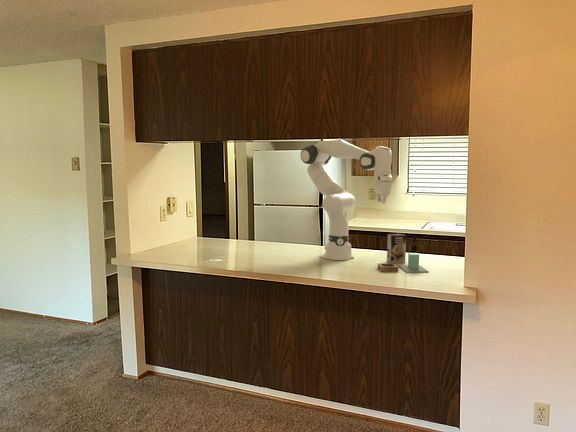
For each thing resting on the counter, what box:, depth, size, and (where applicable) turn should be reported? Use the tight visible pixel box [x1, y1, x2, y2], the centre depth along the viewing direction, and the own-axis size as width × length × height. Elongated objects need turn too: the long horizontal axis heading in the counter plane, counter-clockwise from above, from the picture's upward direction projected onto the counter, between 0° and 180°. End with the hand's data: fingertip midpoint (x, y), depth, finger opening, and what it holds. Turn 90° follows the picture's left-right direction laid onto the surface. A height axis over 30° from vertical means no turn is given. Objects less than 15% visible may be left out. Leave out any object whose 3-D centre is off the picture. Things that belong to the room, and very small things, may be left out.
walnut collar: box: [377, 262, 399, 273], centre depth 264 cm, size 9×9×2 cm
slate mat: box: [398, 265, 429, 274], centre depth 265 cm, size 14×12×1 cm
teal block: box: [407, 252, 420, 269], centre depth 265 cm, size 4×4×8 cm
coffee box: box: [386, 233, 407, 264], centre depth 284 cm, size 9×6×16 cm
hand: (381, 202), depth 265 cm, fingers open, 8 cm apart
